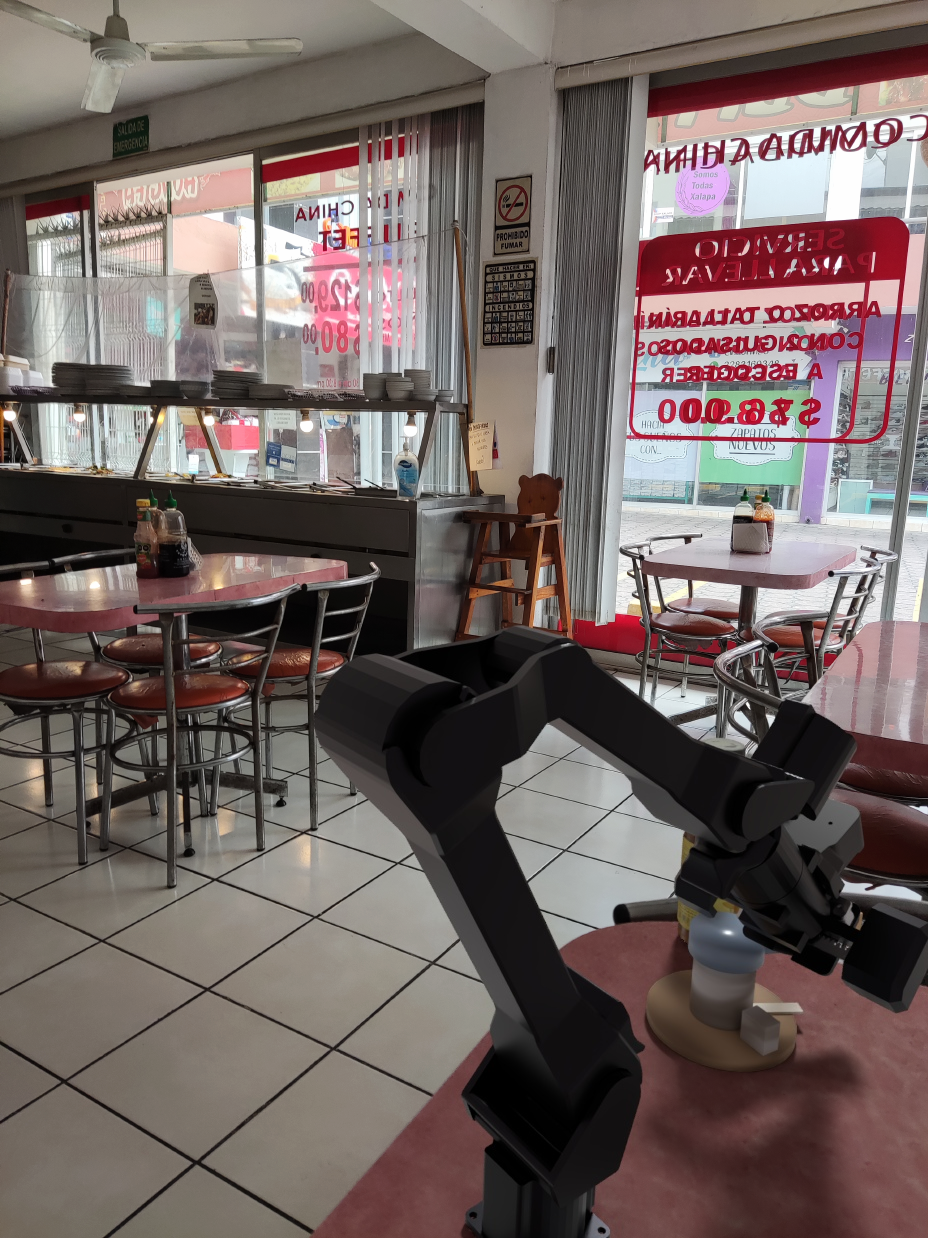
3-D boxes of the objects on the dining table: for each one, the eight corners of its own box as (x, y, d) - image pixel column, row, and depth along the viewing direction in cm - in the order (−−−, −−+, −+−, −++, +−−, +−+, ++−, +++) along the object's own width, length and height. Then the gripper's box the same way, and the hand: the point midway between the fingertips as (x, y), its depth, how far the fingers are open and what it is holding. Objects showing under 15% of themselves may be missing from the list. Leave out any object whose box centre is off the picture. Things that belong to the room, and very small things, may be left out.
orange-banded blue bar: (708, 977, 69) (711, 941, 69) (676, 936, 75) (678, 902, 75) (873, 961, 72) (878, 926, 72) (830, 922, 78) (834, 889, 77)
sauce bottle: (744, 961, 83) (764, 759, 79) (676, 952, 84) (692, 753, 80) (738, 925, 89) (755, 736, 86) (674, 917, 91) (689, 731, 87)
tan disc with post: (738, 1094, 66) (745, 1020, 65) (616, 1012, 75) (621, 946, 74) (824, 1031, 73) (832, 963, 72) (704, 964, 82) (709, 902, 81)
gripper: (946, 816, 58) (992, 922, 67) (708, 738, 72) (771, 834, 81) (871, 966, 54) (929, 1057, 63) (636, 853, 69) (710, 940, 77)
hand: (826, 959), depth 71 cm, fingers closed
